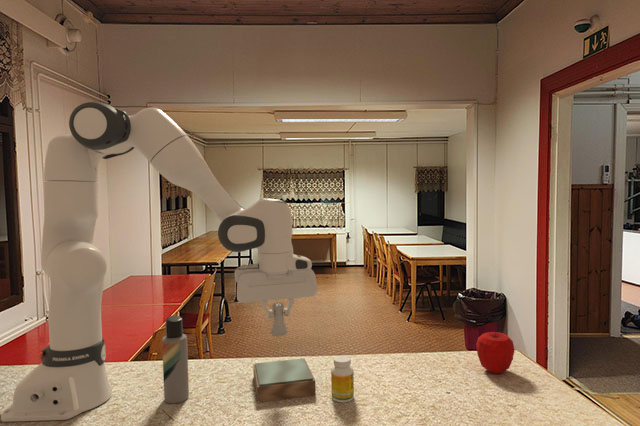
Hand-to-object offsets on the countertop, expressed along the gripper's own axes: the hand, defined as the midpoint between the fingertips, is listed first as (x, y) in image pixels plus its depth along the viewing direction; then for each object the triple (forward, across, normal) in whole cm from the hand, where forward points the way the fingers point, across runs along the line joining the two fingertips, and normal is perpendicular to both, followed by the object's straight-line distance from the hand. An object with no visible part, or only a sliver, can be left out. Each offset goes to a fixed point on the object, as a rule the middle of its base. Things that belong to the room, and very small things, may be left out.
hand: (278, 316), depth 109 cm
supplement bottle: (+18, +13, -10) cm, 25 cm away
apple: (+19, +57, -6) cm, 61 cm away
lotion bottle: (+18, -26, 0) cm, 31 cm away
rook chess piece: (+5, 0, 0) cm, 5 cm away
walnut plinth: (+18, 0, 0) cm, 18 cm away
